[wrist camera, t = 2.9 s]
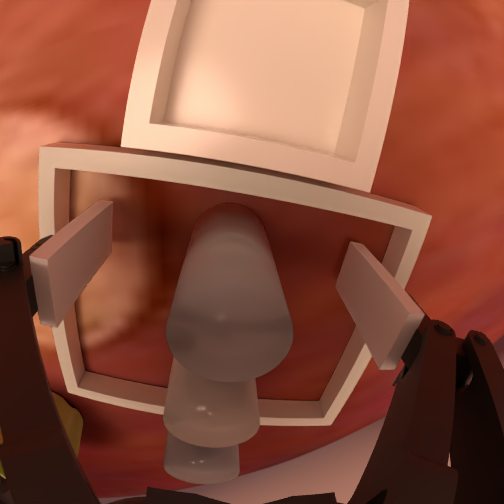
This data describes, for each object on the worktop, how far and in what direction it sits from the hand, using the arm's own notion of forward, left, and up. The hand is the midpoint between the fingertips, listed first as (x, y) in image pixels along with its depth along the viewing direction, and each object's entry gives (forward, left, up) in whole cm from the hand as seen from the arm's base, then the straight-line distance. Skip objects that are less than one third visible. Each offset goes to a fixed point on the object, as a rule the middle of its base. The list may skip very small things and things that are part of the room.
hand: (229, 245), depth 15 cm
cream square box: (+9, 0, -1) cm, 9 cm away
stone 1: (0, 0, -1) cm, 1 cm away
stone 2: (-5, 0, -1) cm, 5 cm away
